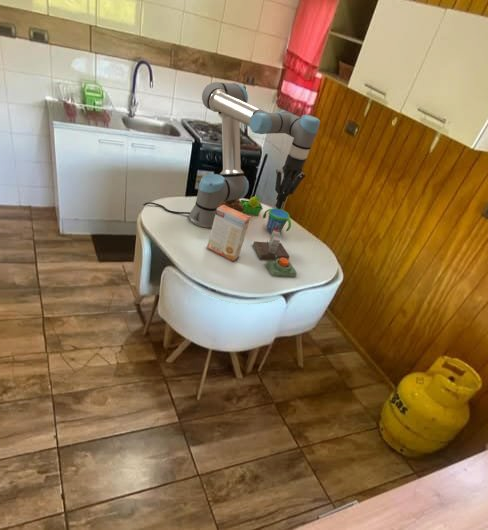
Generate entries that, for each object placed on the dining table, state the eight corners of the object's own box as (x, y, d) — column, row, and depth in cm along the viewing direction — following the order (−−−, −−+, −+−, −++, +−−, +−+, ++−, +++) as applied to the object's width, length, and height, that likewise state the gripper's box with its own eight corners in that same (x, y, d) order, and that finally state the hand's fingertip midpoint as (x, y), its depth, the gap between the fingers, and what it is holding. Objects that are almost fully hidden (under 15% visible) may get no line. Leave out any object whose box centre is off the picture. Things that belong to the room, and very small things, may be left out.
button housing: (272, 276, 163) (275, 268, 160) (266, 264, 169) (268, 257, 167) (295, 276, 165) (298, 269, 163) (288, 265, 172) (291, 258, 169)
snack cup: (255, 224, 198) (261, 207, 192) (268, 221, 204) (274, 204, 199) (278, 240, 189) (285, 222, 184) (291, 235, 196) (297, 218, 190)
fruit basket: (257, 210, 213) (263, 192, 206) (260, 218, 206) (267, 199, 199) (238, 207, 211) (243, 189, 204) (240, 215, 204) (246, 196, 197)
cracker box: (239, 256, 170) (251, 216, 158) (232, 262, 166) (245, 221, 154) (213, 243, 176) (223, 203, 163) (206, 248, 171) (216, 207, 159)
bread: (209, 201, 210) (213, 185, 205) (226, 201, 214) (231, 185, 209) (222, 218, 197) (227, 201, 191) (240, 218, 201) (245, 201, 195)
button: (280, 267, 163) (281, 263, 162) (276, 261, 166) (278, 257, 165) (289, 267, 164) (291, 263, 163) (285, 261, 167) (287, 257, 166)
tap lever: (274, 254, 173) (280, 240, 168) (268, 252, 173) (273, 238, 168) (274, 244, 180) (279, 230, 175) (268, 243, 180) (273, 229, 176)
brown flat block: (260, 260, 171) (262, 256, 169) (251, 244, 181) (253, 239, 180) (288, 262, 174) (290, 257, 173) (278, 245, 185) (280, 241, 183)
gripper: (307, 154, 157) (288, 204, 171) (279, 150, 154) (261, 201, 168) (315, 161, 151) (294, 212, 165) (286, 158, 148) (267, 210, 162)
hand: (277, 207), depth 166 cm, fingers closed
